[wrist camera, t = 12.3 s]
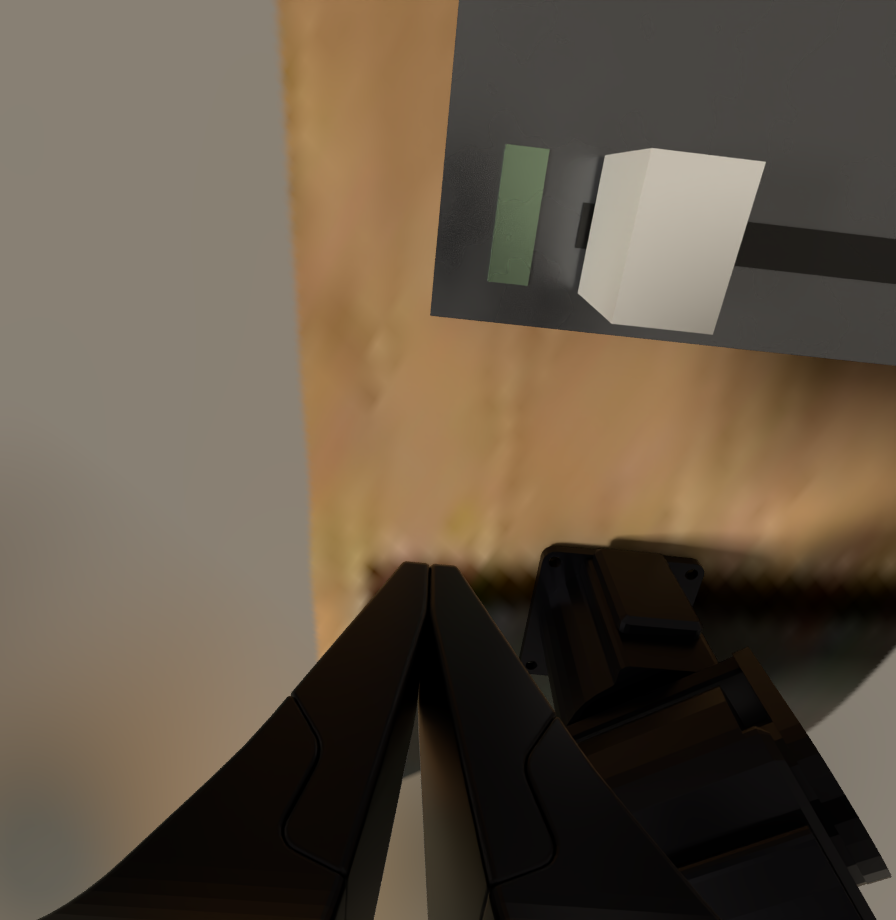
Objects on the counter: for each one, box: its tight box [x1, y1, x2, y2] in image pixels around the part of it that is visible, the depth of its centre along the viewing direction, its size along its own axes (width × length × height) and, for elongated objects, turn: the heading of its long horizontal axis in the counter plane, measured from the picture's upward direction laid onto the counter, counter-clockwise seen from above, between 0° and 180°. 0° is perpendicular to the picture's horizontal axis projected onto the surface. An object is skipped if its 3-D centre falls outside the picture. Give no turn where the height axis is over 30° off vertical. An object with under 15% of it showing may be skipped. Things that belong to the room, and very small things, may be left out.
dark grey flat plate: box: [430, 0, 896, 366], centre depth 15 cm, size 16×19×2 cm
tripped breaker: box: [578, 148, 766, 335], centre depth 14 cm, size 4×2×4 cm, turn 174°
